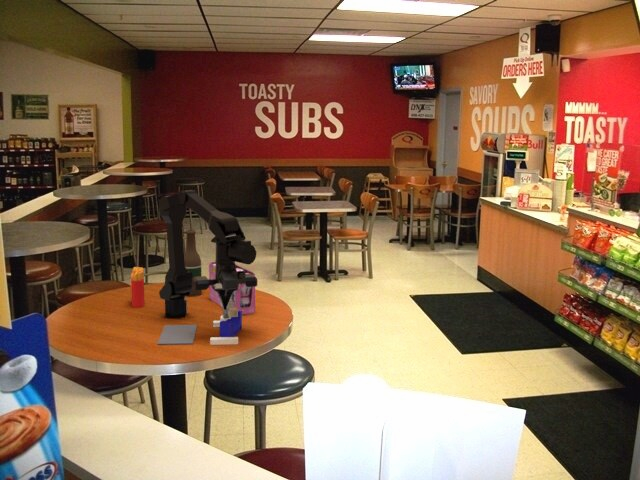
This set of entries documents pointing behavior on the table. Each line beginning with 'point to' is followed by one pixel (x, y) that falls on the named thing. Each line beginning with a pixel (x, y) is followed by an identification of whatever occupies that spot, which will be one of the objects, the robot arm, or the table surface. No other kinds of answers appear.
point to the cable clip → (231, 326)
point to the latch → (230, 310)
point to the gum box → (235, 292)
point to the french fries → (137, 287)
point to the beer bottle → (192, 259)
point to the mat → (177, 335)
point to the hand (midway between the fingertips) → (224, 309)
